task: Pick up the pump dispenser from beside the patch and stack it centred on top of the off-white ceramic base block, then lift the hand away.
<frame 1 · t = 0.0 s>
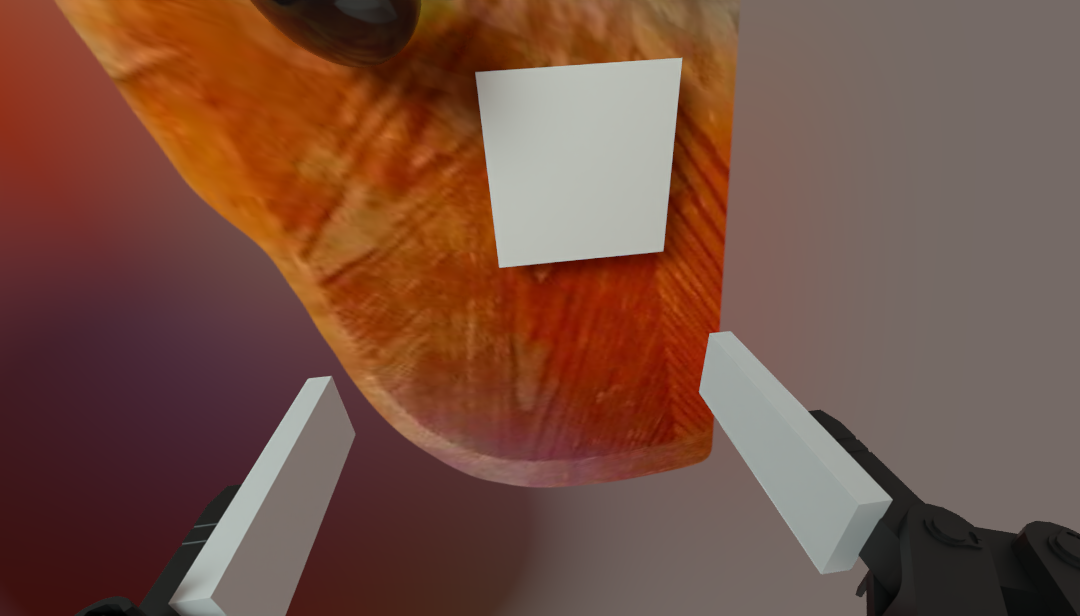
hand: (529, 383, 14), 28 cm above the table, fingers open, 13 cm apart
ceramic base: (573, 165, 38), on the table
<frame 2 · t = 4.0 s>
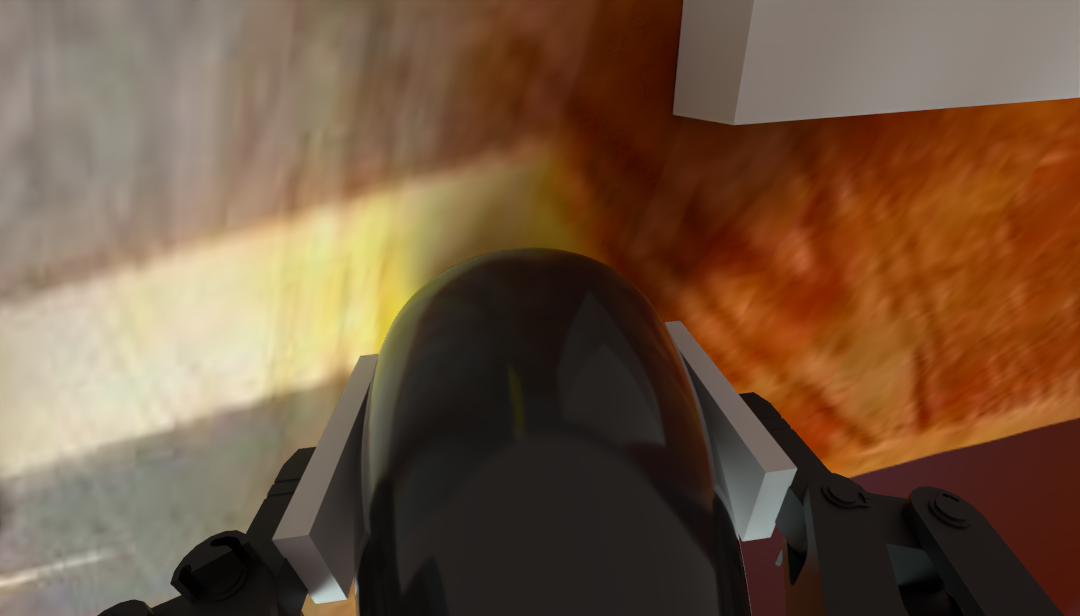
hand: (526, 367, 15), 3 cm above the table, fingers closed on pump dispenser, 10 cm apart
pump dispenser: (518, 325, 18), on the table, touching gripper
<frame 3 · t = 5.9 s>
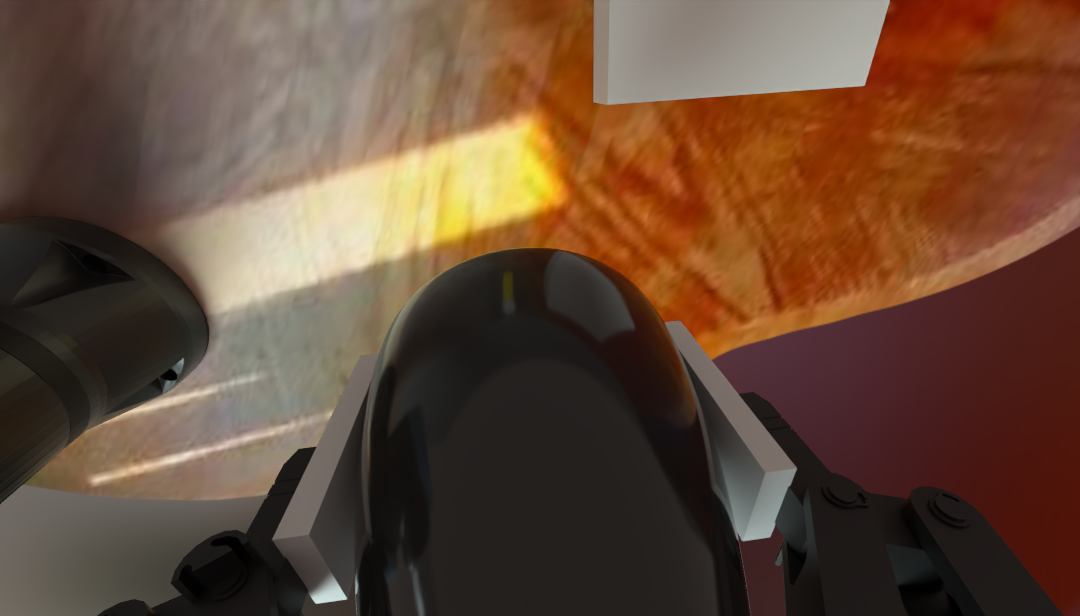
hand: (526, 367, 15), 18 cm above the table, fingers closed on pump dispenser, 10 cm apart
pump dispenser: (518, 325, 18), point 15 cm above the table, touching gripper
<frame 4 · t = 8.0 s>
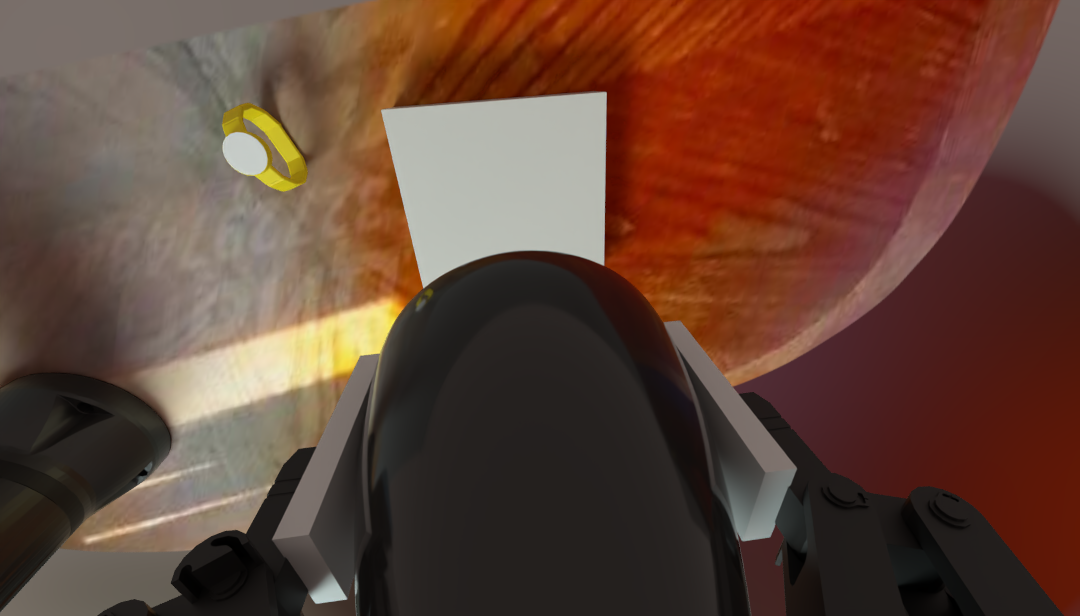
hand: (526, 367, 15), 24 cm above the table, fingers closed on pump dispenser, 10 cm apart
watch: (285, 143, 32), on the table
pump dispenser: (518, 327, 18), point 21 cm above the table, touching gripper
ceramic base: (506, 199, 36), on the table
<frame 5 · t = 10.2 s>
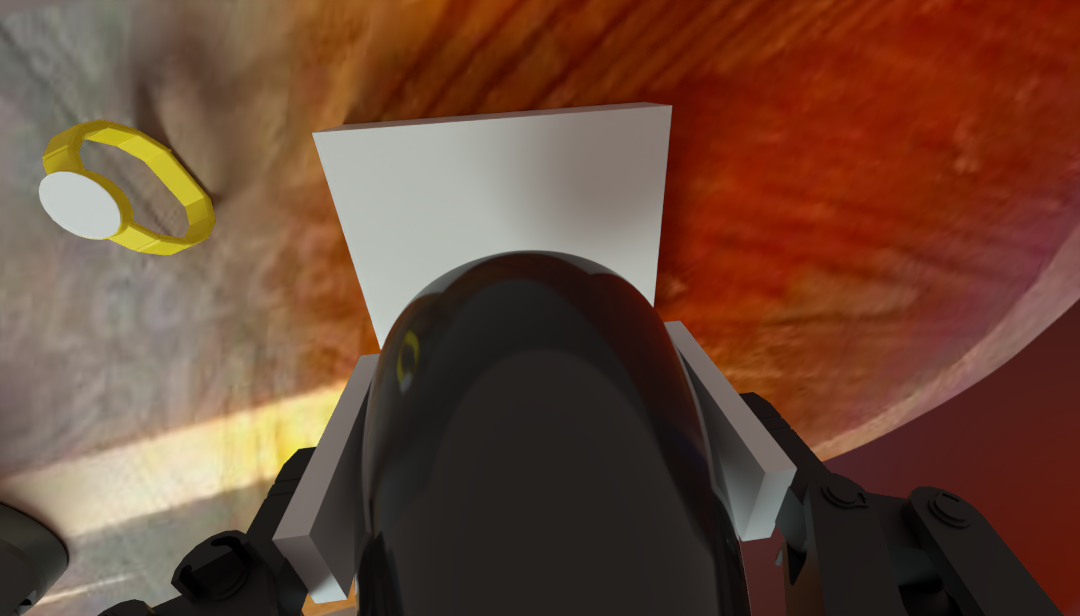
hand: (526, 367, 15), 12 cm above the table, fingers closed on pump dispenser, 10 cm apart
watch: (182, 178, 21), on the table
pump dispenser: (518, 327, 18), point 9 cm above the table, touching gripper
ceramic base: (510, 253, 25), on the table
when the fingers open (8 cm above the table, at t = 12.0 s): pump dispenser drops 1 cm, resting on ceramic base.
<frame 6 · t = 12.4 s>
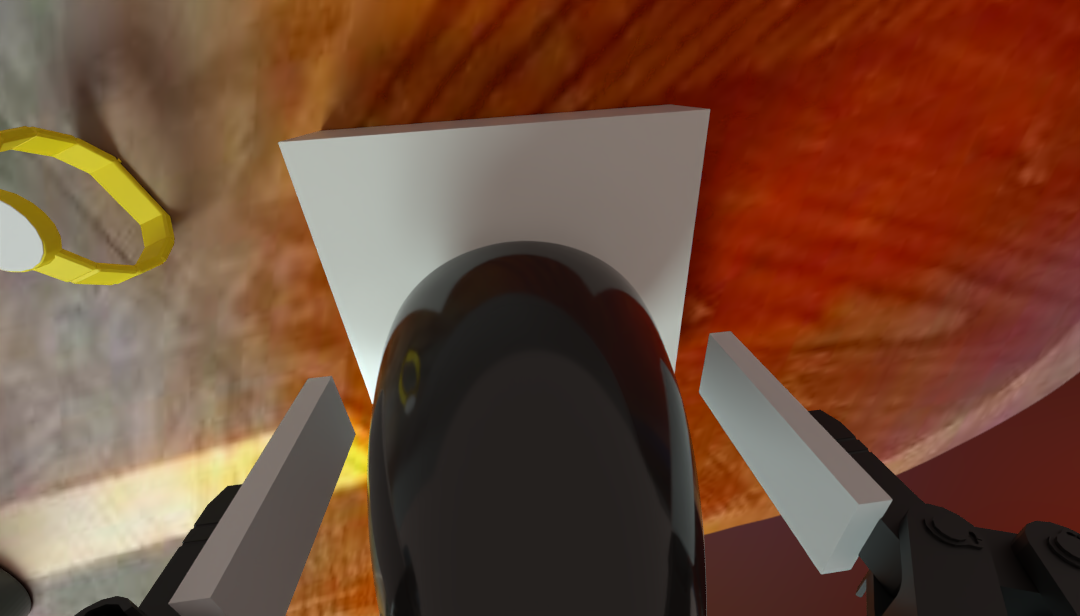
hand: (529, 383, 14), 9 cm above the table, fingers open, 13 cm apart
watch: (136, 192, 18), on the table
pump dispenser: (517, 312, 19), point 4 cm above the table, touching ceramic base
ceramic base: (515, 275, 22), on the table
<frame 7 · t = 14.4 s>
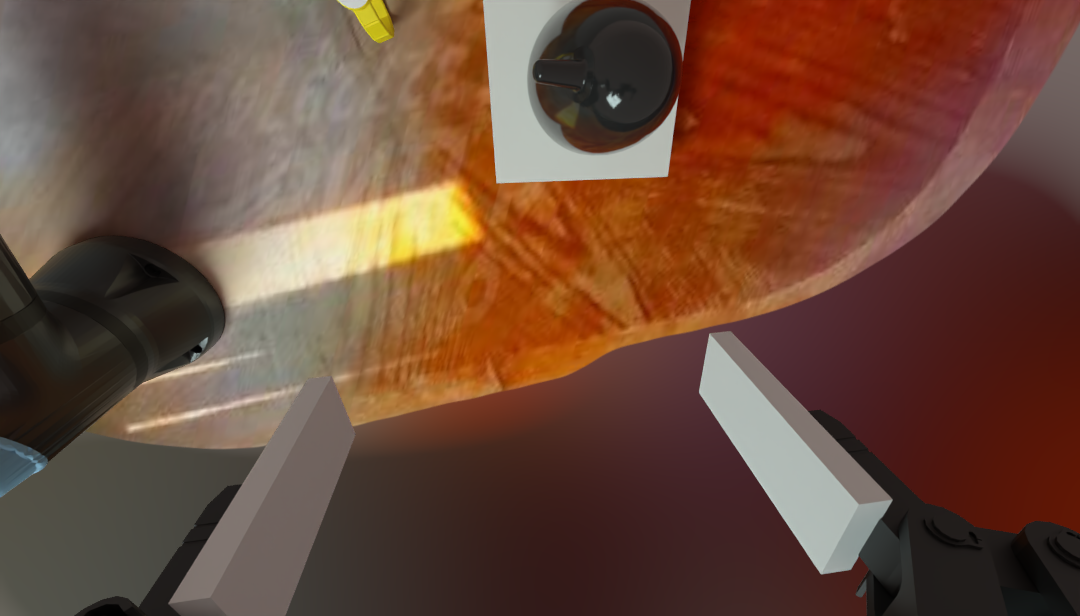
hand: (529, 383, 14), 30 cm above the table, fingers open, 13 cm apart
watch: (374, 1, 33), on the table
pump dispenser: (584, 81, 33), point 4 cm above the table, touching ceramic base
ceramic base: (578, 80, 36), on the table
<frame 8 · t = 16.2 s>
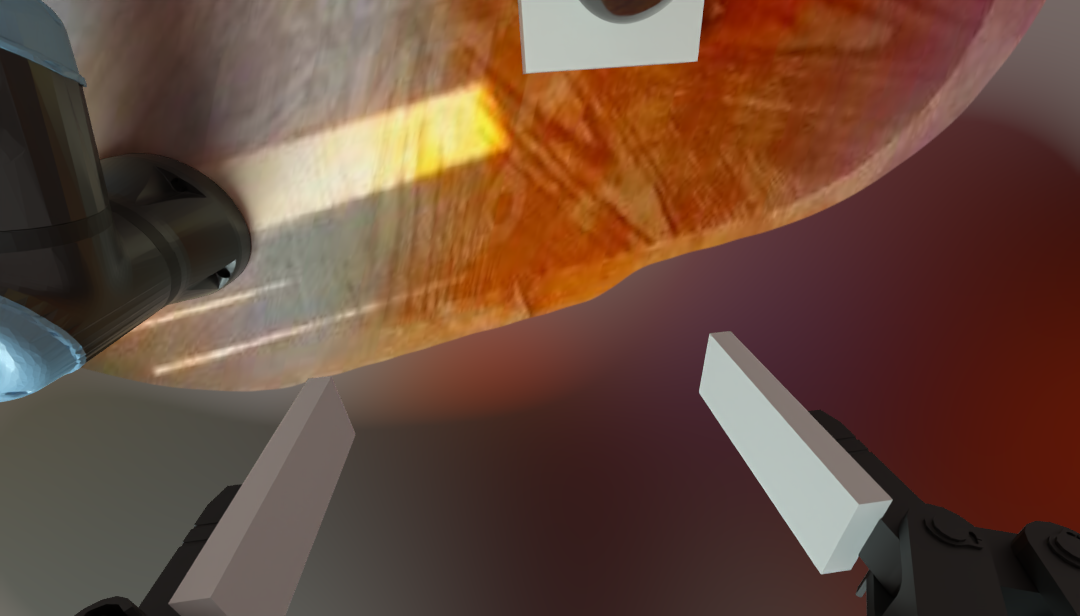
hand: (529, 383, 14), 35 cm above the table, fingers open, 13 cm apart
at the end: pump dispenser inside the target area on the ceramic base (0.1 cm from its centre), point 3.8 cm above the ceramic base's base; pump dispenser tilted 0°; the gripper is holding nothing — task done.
